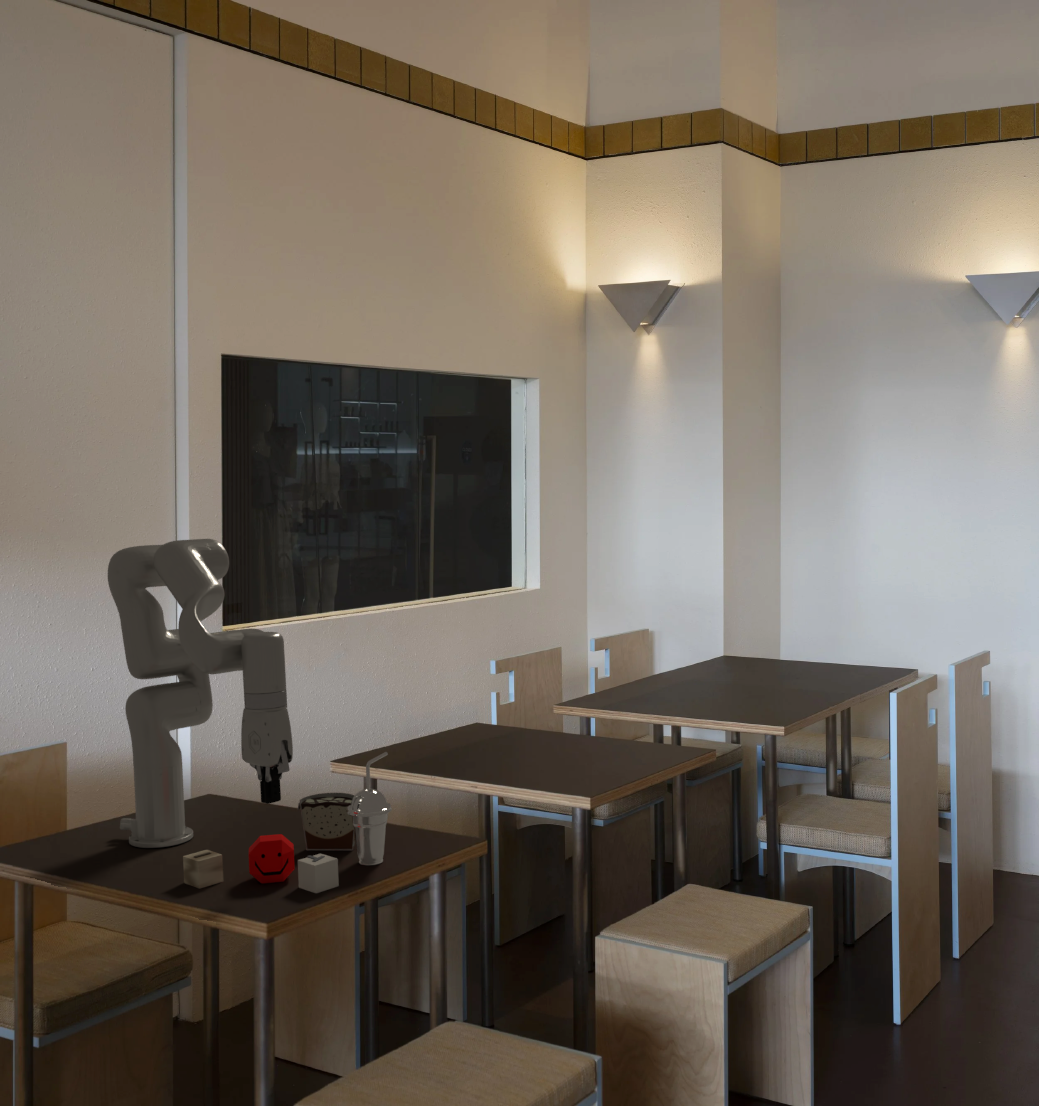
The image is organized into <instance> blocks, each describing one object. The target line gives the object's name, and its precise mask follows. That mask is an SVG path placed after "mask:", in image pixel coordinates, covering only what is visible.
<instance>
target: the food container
mask: <svg viewBox="0 0 1039 1106" xmlns="http://www.w3.org/2000/svg"><path fill="white" fill-rule="evenodd" d="M355 795H356V794H353V793H349V792H348V793H346V792H323V793H316V794H310V795H306V796H304V797H302V798H300V799H299V802H298V804H297V811H299V810H300V814H301V815H300V816H301V821H302V828H303V829H302V830H303V836H304V843H305V850H306V851H354V850H355V843H356V839H355V832H354V826H353V824H352V821H351V815H349V814H347V807H348V806H349V805H351V802H352V799H353V797H354V796H355Z"/></svg>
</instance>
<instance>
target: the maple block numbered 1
mask: <svg viewBox="0 0 1039 1106" xmlns="http://www.w3.org/2000/svg"><path fill="white" fill-rule="evenodd" d="M182 861H183V862H182V865H183V883H184V884H186V885H189V886H192V887H194V888H197V889H203V888H206V887H209V886H212V885H216V884H219V883H223V882H224V870H223V869H224V867H223V866H224V864H223V854H221V853H218V852H215V851H212V850H210V849H204V850H200V851H197V852H193V853H190V854H186V855H183V856H182Z"/></svg>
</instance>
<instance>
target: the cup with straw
mask: <svg viewBox="0 0 1039 1106" xmlns="http://www.w3.org/2000/svg"><path fill="white" fill-rule="evenodd" d="M388 755H389V754H388V752H387V751H385V752H383V753H381V754H379V755H377V756H375V757H373V758H371V759H369V760H368V761H367V763H366V764H365V774H366V775H365V776H366V777H365V779H366V788H364V789H362V790H360V791H357V793H355V794H354V795H355V796H354V797H353V799H352V802H351V805H349V806H348V807H347V814H349V815H351V821H352V824H353V826H354V832H355V845H356V846H355V847H356V849H357V850H356V851H357V857H358V860H359V861H358V863H359V864H360V865H362V866H377V865H380V864H381V863H384V859H383V858H384V856H385V855H384V854H385V843H386V842H385V841H386V829H387V828H386V826H387V824H388V819H389V818H388V817H389V813H391V812H392V810H393V808H392V805H391V804H390V803H389V802H388V801H387V798H386V797H385V795H384V794H383V792H381V791H380V790H378V789H374V788H371V773H370V772H371V770H370V769H371V765H372V764H374V763H375V762H377V761H379V760H380V759H382V758H385V757H386V756H388Z"/></svg>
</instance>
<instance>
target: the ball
mask: <svg viewBox="0 0 1039 1106" xmlns="http://www.w3.org/2000/svg"><path fill="white" fill-rule="evenodd" d="M294 846H295V845H294V843H293V842H291V841H290V839H288V838H287V837H286V836H285V835H283V834H281V833H280V834H279V833H277V834H267V835H264V834H263V835H259V836H258V838H257V839H256V840H255V841H254V842H253V843H252V844H251V845H249V847H248V870H249V872H248V873H249V874H250V875H251V876H252V877H253V878H255V880H257V881H258V882H259V883H260V884H271V883H283V882H285V881H286V879H287V878H288V877H290V875H291V874H292V873H293V871H295V869H296V868H295V865H296V864H295V848H294Z"/></svg>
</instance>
